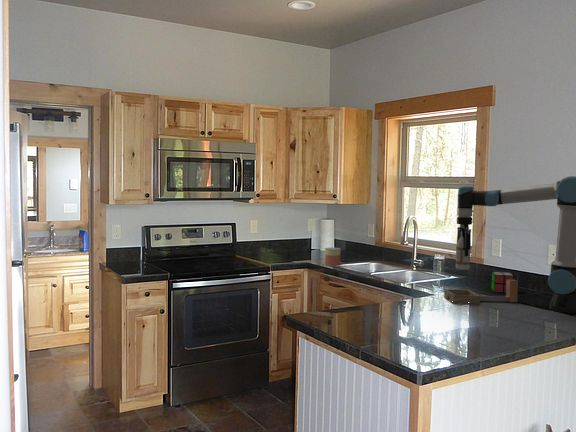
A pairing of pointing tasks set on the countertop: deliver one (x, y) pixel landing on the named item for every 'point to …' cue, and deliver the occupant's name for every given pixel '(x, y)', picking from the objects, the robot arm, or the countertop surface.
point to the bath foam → (461, 256)
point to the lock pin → (510, 293)
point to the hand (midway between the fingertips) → (462, 261)
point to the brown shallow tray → (462, 296)
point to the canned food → (332, 256)
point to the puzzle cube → (500, 281)
